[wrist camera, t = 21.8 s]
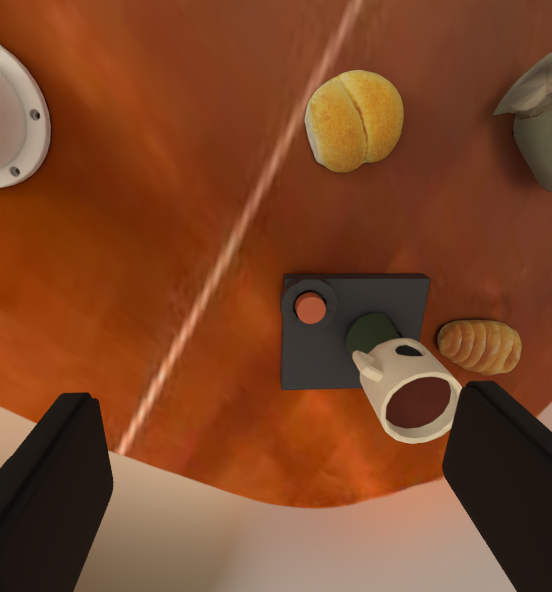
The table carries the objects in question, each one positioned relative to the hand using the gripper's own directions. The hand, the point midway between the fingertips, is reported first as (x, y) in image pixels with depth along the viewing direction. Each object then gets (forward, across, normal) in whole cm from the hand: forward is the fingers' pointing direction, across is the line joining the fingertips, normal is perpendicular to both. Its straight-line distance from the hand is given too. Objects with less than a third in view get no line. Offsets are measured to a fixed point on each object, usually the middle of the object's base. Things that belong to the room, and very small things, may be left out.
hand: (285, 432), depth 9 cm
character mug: (+28, -13, +12) cm, 33 cm away
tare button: (+27, -6, +7) cm, 28 cm away
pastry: (+30, -27, +14) cm, 43 cm away
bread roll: (+30, -9, -10) cm, 33 cm away
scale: (+30, -11, +12) cm, 34 cm away
